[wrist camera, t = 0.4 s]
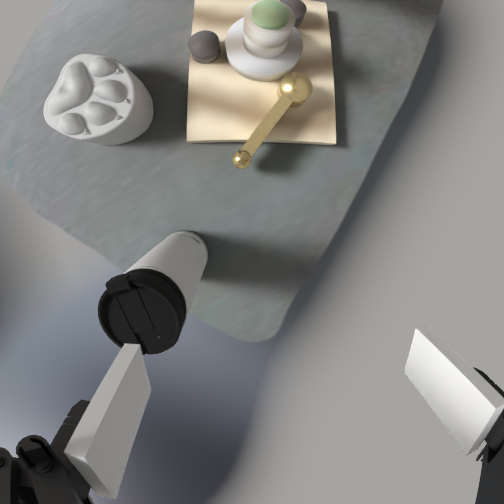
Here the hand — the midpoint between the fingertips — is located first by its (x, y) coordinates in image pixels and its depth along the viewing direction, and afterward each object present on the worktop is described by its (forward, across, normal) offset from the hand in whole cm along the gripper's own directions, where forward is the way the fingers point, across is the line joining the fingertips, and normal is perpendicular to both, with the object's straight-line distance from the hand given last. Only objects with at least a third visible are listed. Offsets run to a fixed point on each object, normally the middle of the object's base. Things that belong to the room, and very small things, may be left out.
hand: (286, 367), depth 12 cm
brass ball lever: (+24, +2, +15) cm, 28 cm away
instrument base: (+26, +1, +24) cm, 35 cm away
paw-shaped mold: (+26, -19, +19) cm, 38 cm away
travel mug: (+26, -9, -1) cm, 28 cm away
